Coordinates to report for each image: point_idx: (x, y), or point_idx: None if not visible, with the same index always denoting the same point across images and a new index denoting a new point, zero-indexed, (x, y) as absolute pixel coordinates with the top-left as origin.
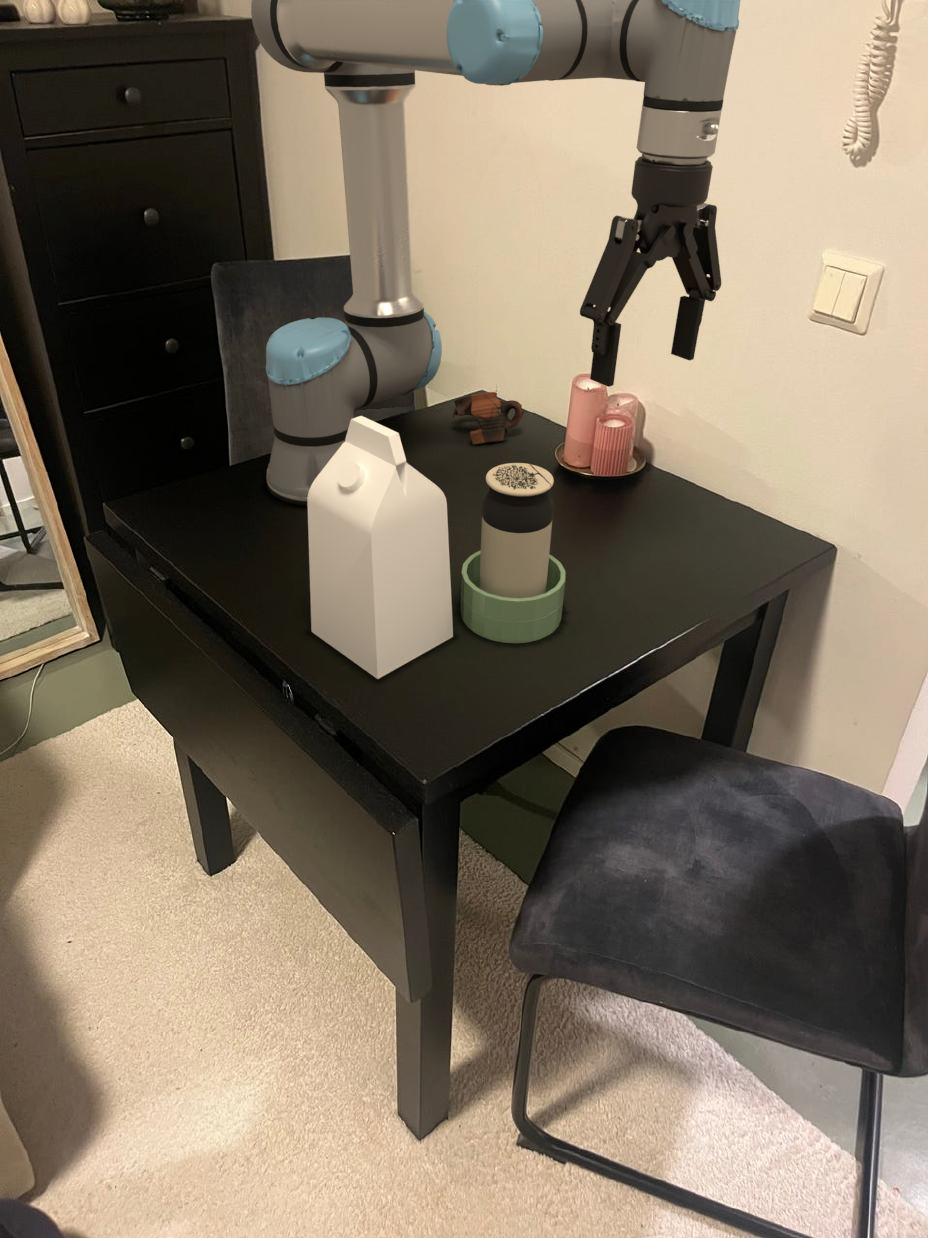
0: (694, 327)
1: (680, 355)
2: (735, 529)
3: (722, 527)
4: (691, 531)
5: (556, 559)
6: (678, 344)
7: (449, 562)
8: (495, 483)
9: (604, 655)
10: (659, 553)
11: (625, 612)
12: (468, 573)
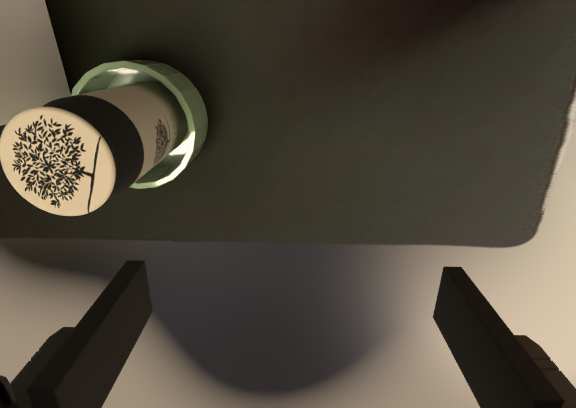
0: (468, 384)
1: (438, 296)
2: (494, 163)
3: (489, 150)
4: (453, 132)
5: (194, 142)
6: (451, 302)
7: (4, 124)
8: (6, 157)
9: (188, 222)
10: (378, 140)
11: (254, 192)
12: (99, 76)
